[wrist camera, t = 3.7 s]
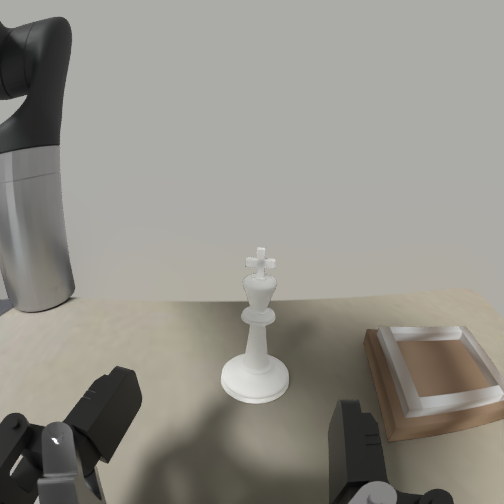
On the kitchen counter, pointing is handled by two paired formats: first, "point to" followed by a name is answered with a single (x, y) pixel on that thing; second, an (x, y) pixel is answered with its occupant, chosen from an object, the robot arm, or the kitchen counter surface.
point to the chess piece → (256, 343)
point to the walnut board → (432, 380)
